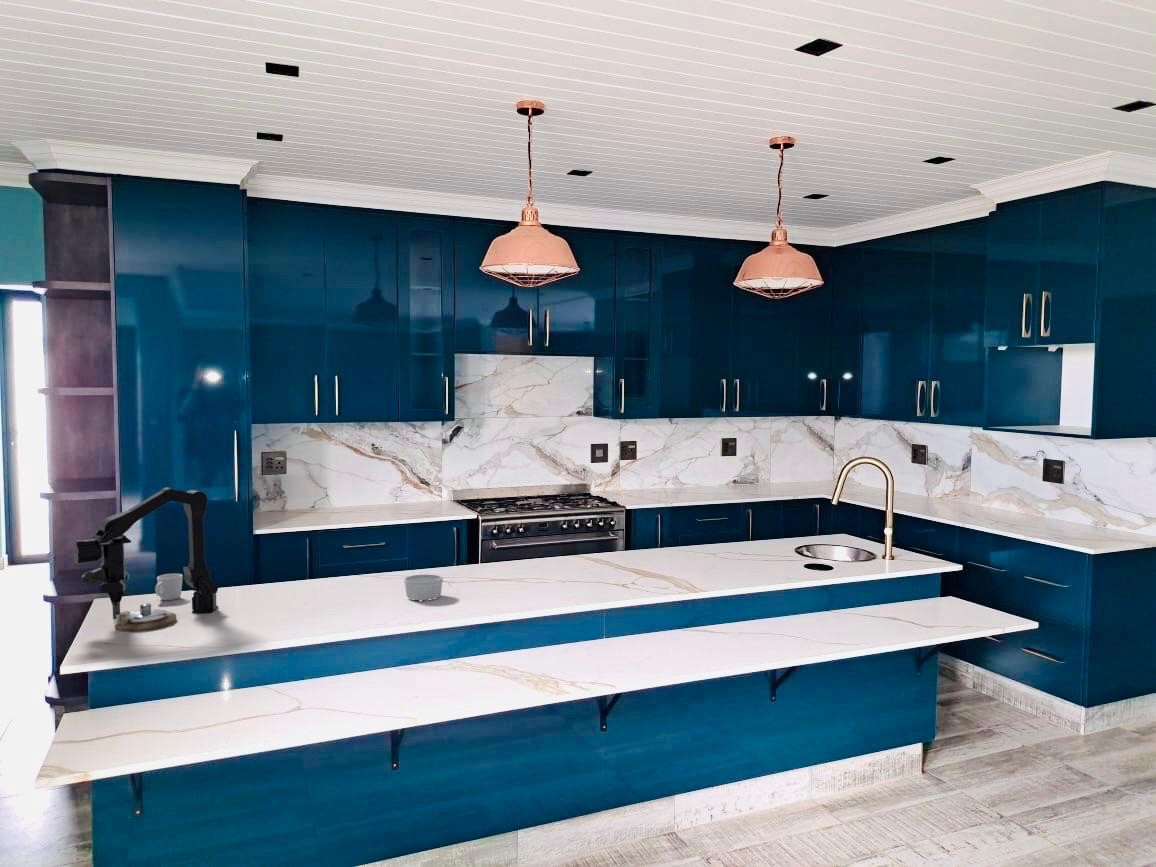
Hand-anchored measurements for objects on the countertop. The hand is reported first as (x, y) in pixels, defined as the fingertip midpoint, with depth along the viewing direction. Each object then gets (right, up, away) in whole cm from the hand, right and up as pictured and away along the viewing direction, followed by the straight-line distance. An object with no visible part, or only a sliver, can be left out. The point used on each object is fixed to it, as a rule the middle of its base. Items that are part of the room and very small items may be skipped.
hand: (115, 609), depth 257 cm
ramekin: (+88, -4, +35) cm, 95 cm away
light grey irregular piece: (+6, -4, +2) cm, 8 cm away
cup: (0, -4, +33) cm, 33 cm away
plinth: (+7, -5, +4) cm, 10 cm away
